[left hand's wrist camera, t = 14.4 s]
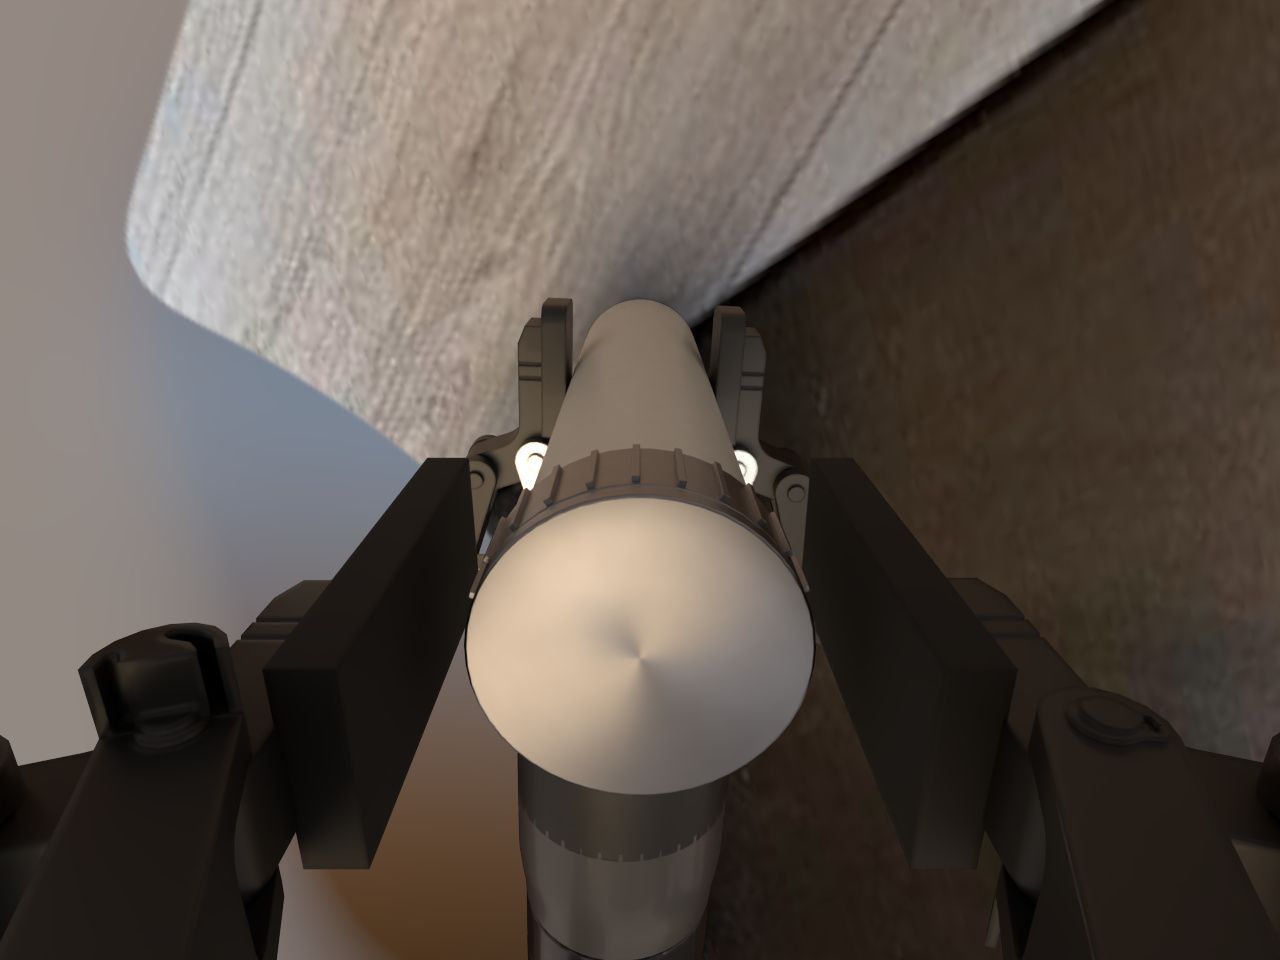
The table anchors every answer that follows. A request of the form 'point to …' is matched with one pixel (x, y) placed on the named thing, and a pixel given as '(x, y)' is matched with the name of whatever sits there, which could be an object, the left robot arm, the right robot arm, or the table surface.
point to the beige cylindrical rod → (640, 392)
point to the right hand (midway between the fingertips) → (643, 308)
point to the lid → (640, 624)
